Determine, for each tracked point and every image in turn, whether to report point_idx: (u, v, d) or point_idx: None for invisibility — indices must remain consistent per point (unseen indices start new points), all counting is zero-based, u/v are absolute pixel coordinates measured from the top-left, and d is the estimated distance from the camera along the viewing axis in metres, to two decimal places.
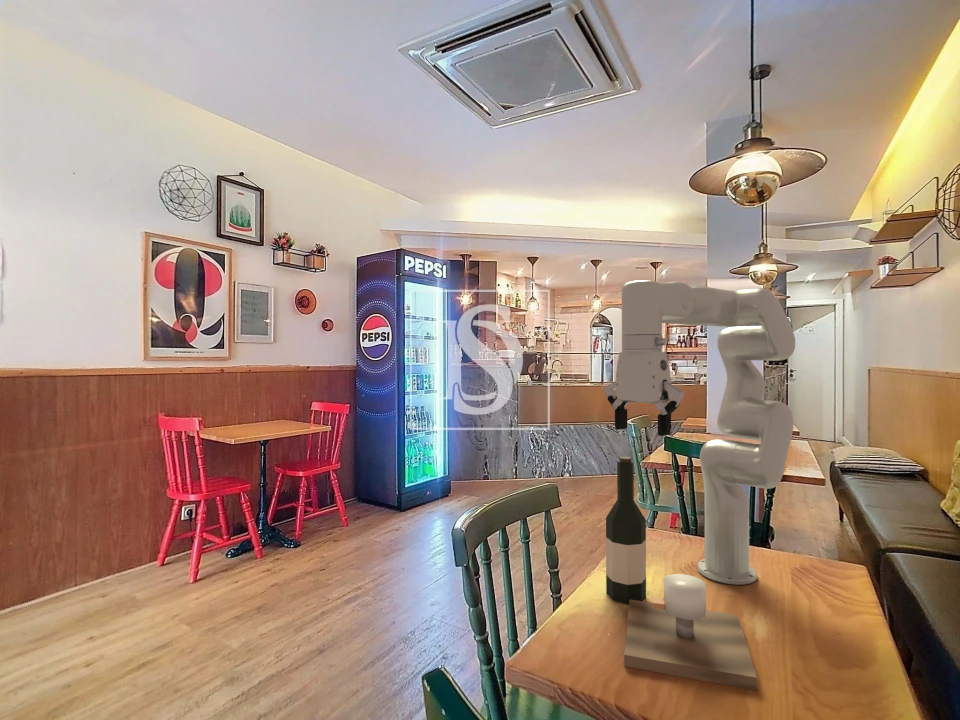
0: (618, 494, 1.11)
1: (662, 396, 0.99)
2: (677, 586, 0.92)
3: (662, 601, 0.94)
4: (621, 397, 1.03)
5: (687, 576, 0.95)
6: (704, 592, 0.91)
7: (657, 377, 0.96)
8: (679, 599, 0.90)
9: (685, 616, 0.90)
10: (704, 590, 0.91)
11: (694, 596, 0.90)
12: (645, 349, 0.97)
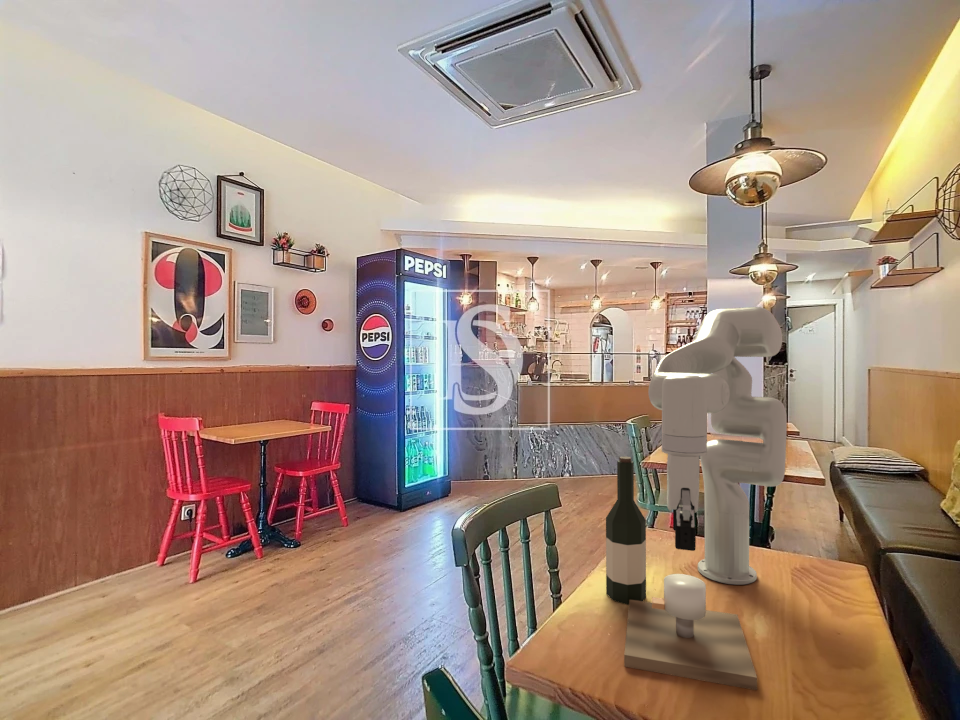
0: (618, 494, 1.11)
1: None
2: (677, 586, 0.92)
3: (662, 601, 0.94)
4: None
5: (687, 576, 0.95)
6: (704, 592, 0.91)
7: None
8: (679, 599, 0.90)
9: (685, 616, 0.90)
10: (704, 590, 0.91)
11: (694, 596, 0.90)
12: None
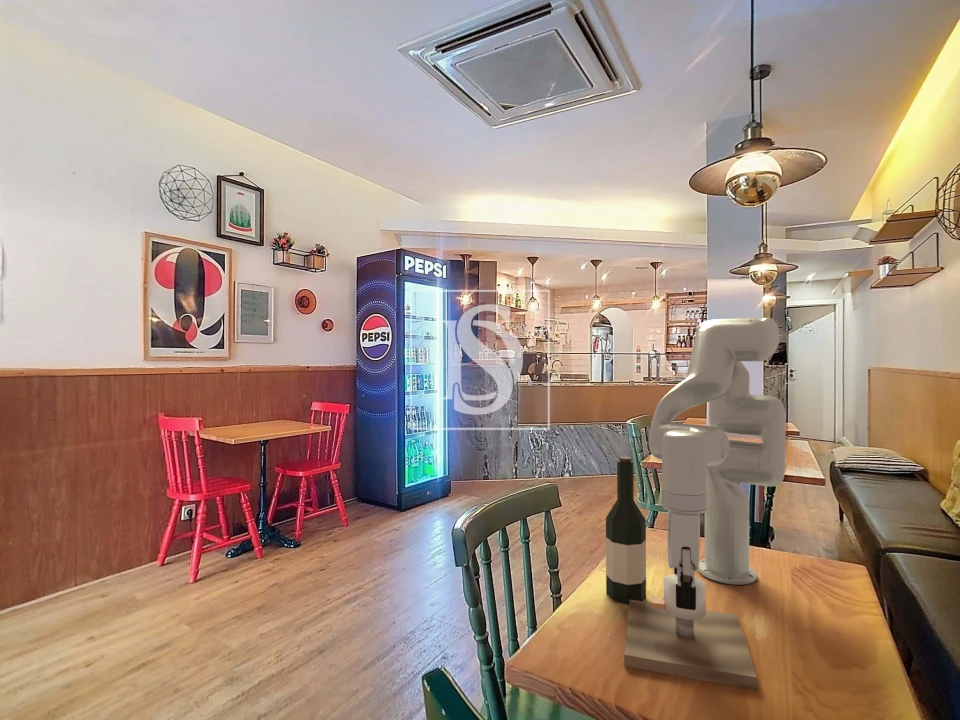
0: (618, 494, 1.11)
1: None
2: None
3: (662, 601, 0.94)
4: None
5: None
6: (704, 592, 0.91)
7: None
8: None
9: (685, 616, 0.90)
10: (704, 590, 0.91)
11: None
12: None
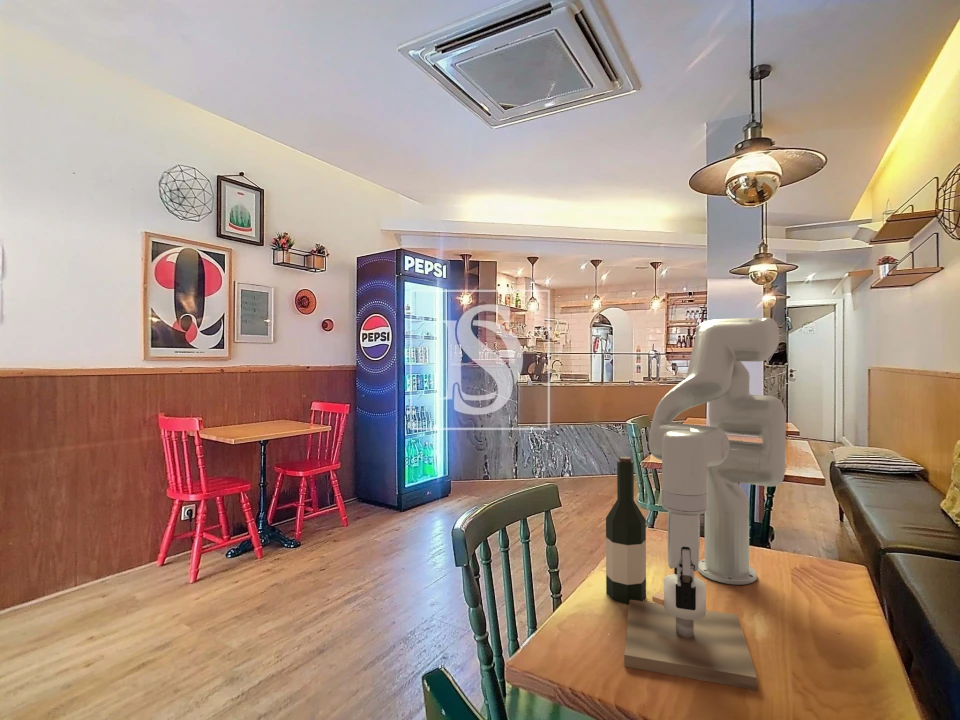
0: (618, 494, 1.11)
1: None
2: (672, 583, 0.93)
3: (664, 597, 0.96)
4: None
5: (694, 578, 0.95)
6: (699, 595, 0.90)
7: None
8: (671, 596, 0.91)
9: (676, 614, 0.91)
10: (699, 593, 0.90)
11: None
12: None
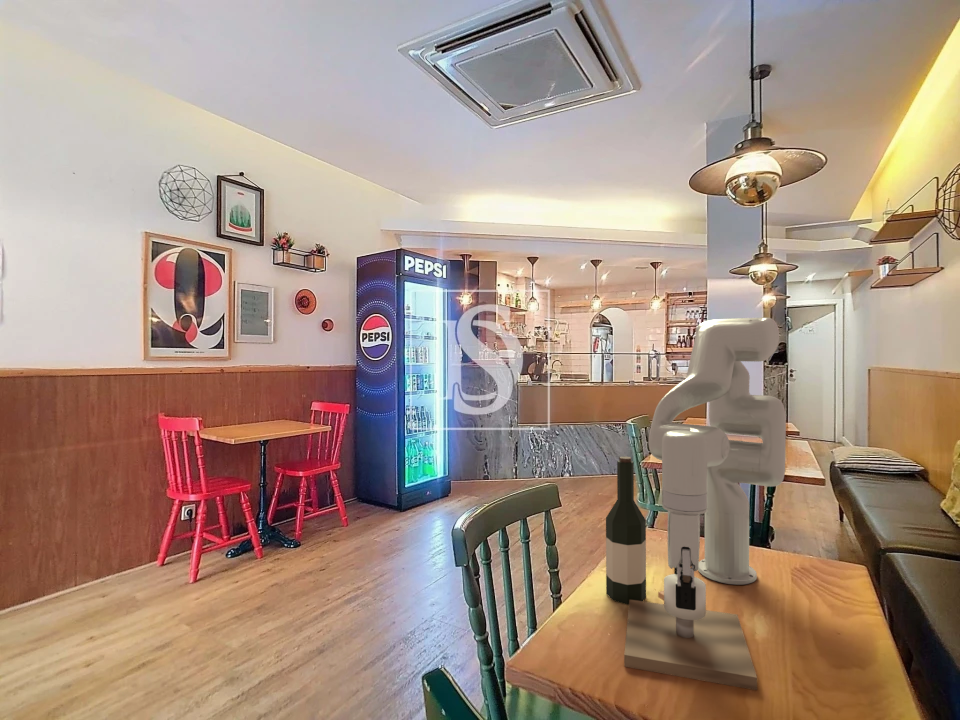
0: (618, 494, 1.11)
1: None
2: (670, 581, 0.94)
3: None
4: None
5: (698, 581, 0.94)
6: None
7: None
8: (665, 592, 0.93)
9: (669, 610, 0.92)
10: None
11: None
12: None
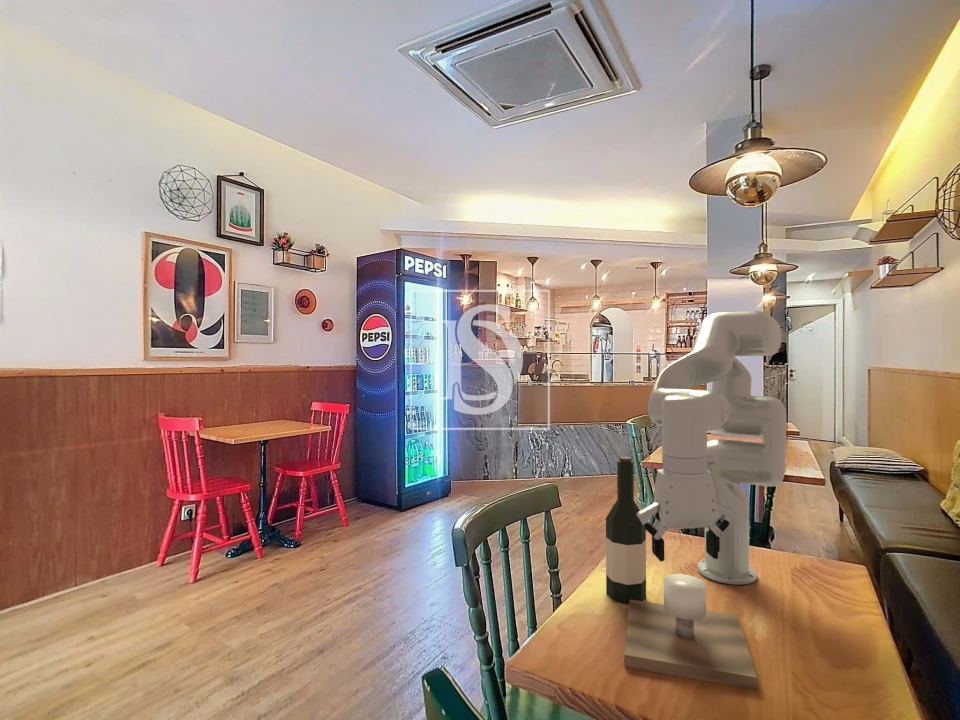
0: (618, 494, 1.11)
1: None
2: (670, 579, 0.95)
3: None
4: (671, 525, 0.91)
5: (701, 584, 0.92)
6: (683, 595, 0.90)
7: (715, 499, 0.91)
8: None
9: (664, 606, 0.93)
10: (683, 593, 0.90)
11: (669, 591, 0.92)
12: (705, 472, 0.90)
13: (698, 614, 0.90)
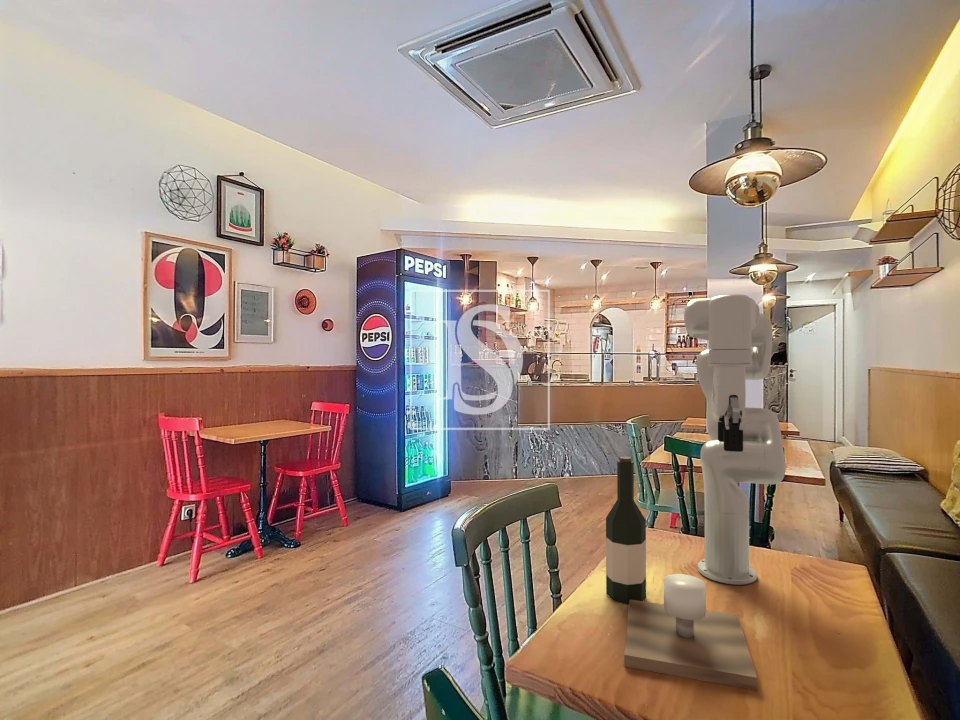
0: (618, 494, 1.11)
1: None
2: (670, 578, 0.95)
3: None
4: None
5: (701, 584, 0.92)
6: (683, 595, 0.90)
7: None
8: None
9: (664, 606, 0.93)
10: (683, 593, 0.90)
11: (669, 591, 0.92)
12: None
13: (698, 614, 0.90)
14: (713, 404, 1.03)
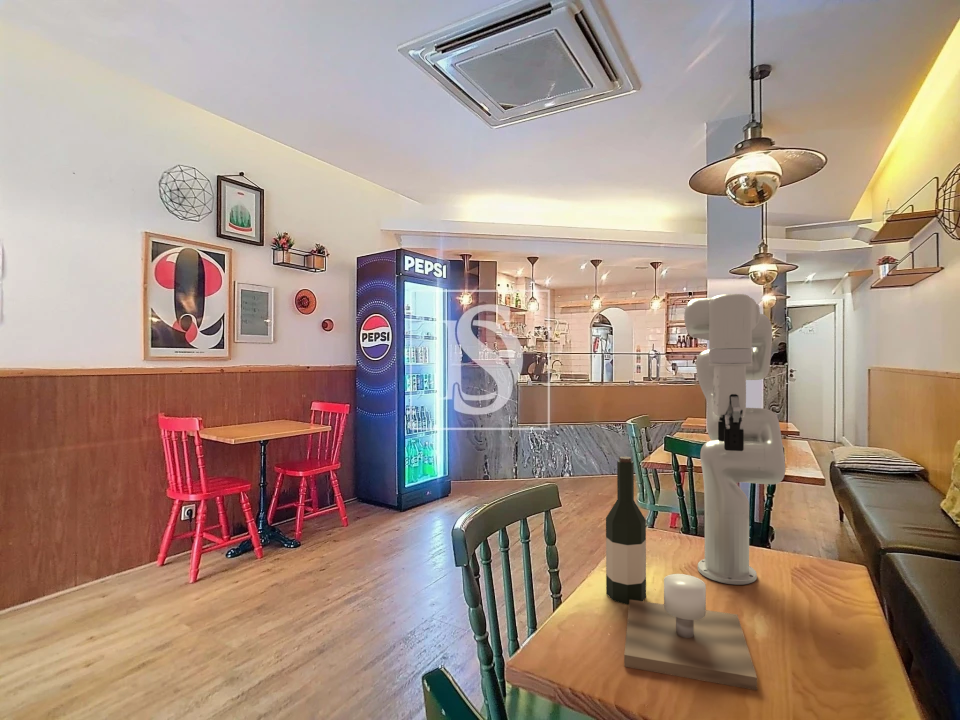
0: (618, 494, 1.11)
1: None
2: (670, 578, 0.95)
3: None
4: None
5: (701, 584, 0.92)
6: (683, 595, 0.90)
7: None
8: None
9: (664, 606, 0.93)
10: (683, 593, 0.90)
11: (669, 591, 0.92)
12: None
13: (698, 614, 0.90)
14: None
